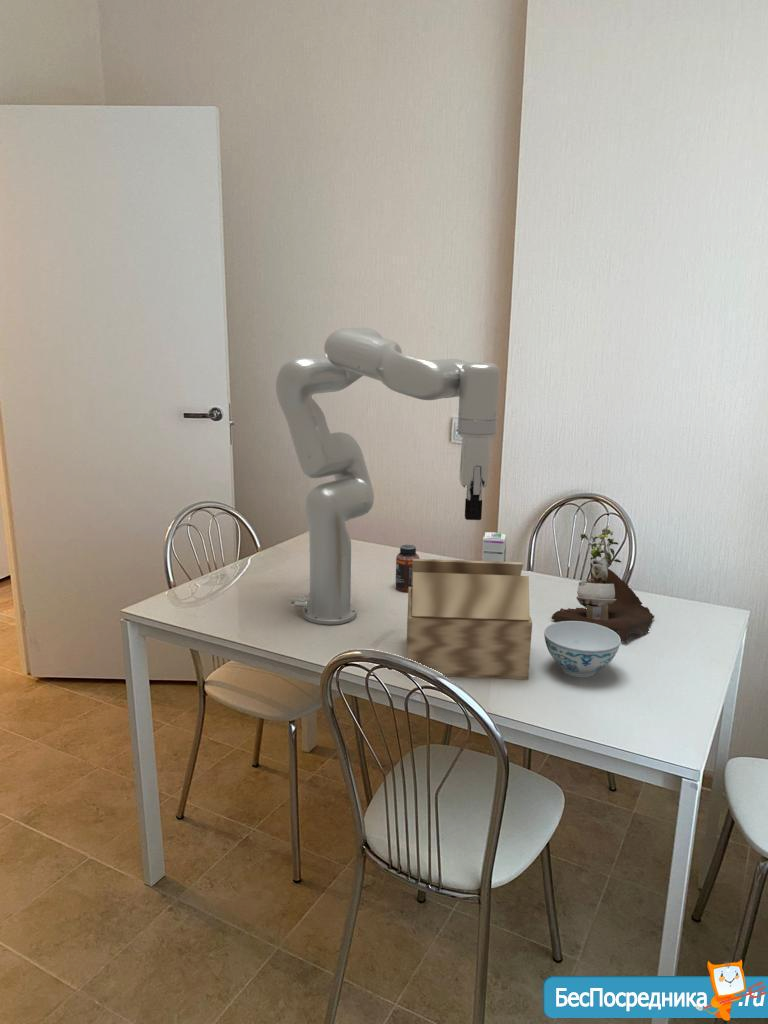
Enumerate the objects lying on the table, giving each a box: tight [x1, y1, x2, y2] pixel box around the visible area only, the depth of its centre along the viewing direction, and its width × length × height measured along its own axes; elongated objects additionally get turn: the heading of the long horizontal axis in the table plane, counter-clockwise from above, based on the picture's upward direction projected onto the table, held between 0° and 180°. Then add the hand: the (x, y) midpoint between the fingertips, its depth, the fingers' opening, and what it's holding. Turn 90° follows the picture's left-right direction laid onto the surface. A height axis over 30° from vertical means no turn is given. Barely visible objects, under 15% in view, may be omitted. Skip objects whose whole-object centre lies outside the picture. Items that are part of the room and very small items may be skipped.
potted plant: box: [551, 527, 655, 643], centre depth 194 cm, size 20×19×25 cm
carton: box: [406, 587, 533, 680], centre depth 171 cm, size 24×18×12 cm
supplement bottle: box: [395, 544, 420, 593], centre depth 211 cm, size 6×6×11 cm
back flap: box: [411, 558, 524, 585], centre depth 175 cm, size 23×9×1 cm
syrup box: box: [481, 531, 507, 562], centre depth 212 cm, size 6×6×14 cm
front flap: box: [412, 572, 531, 620], centre depth 162 cm, size 23×9×1 cm
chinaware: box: [543, 621, 622, 678], centre depth 167 cm, size 15×15×8 cm
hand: (472, 518), depth 165 cm, fingers closed
